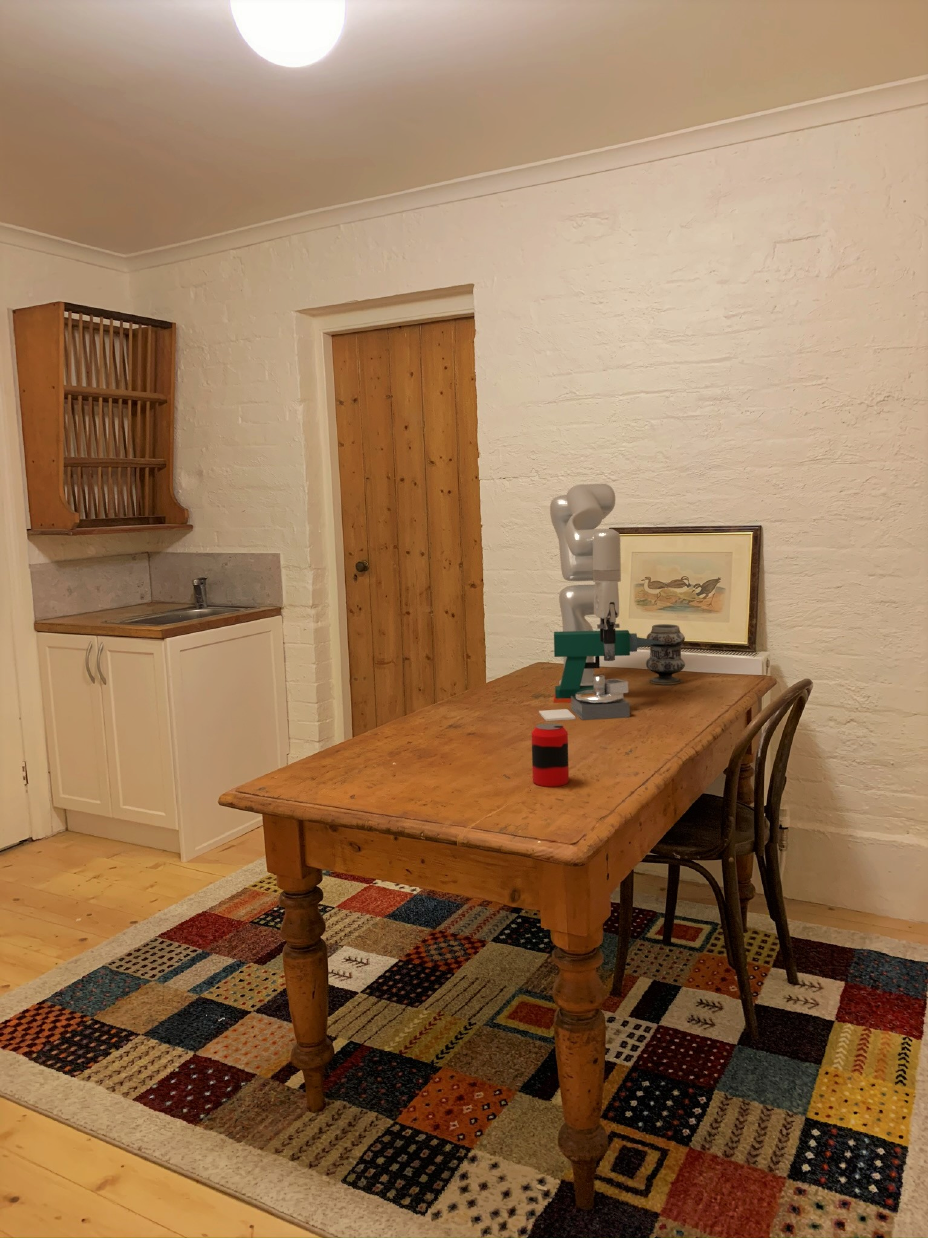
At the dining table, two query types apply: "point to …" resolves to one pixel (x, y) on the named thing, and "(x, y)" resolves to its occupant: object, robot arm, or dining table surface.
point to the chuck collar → (604, 690)
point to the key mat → (557, 715)
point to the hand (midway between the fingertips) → (607, 641)
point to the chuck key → (608, 645)
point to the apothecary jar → (665, 653)
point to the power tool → (579, 648)
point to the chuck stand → (600, 709)
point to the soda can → (550, 755)
